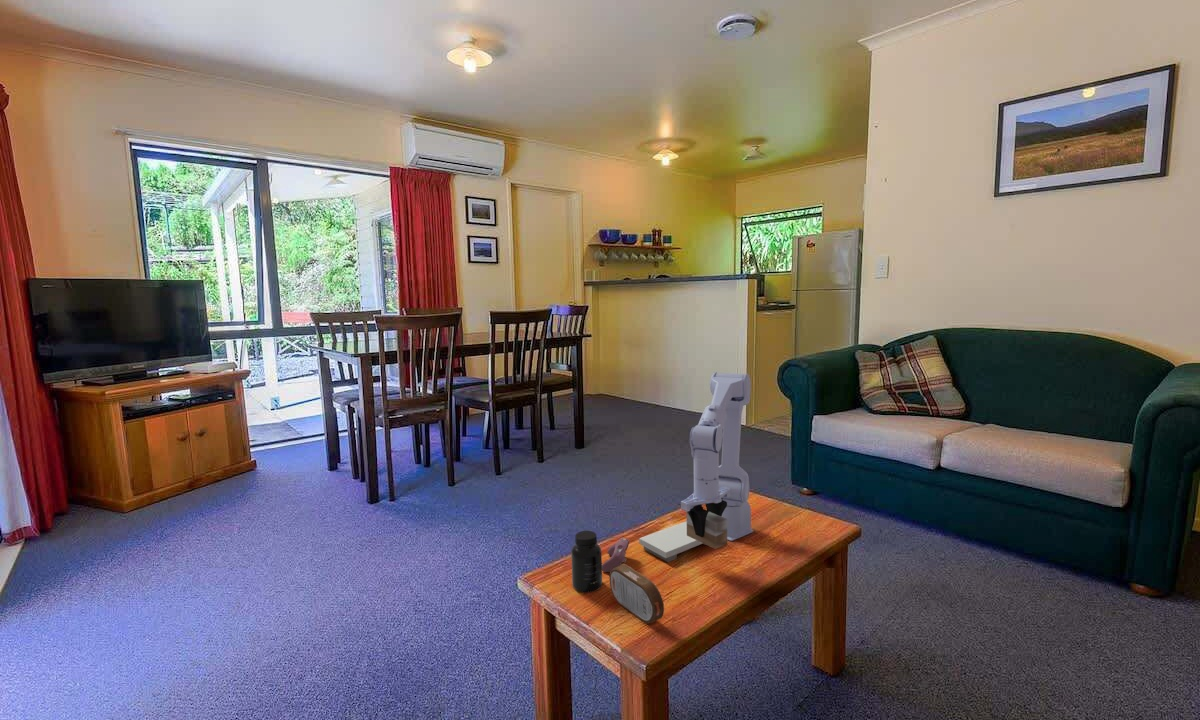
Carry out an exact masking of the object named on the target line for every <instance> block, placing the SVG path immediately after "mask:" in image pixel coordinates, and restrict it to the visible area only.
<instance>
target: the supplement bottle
mask: <svg viewBox="0 0 1200 720" xmlns="http://www.w3.org/2000/svg"><path fill="white" fill-rule="evenodd" d="M574 537H575V538H574V539H575V540H574V545H573V546H572V548H571V549H570V550H571V553H570V554H571V555H570V556H571V557H570V560H571V583H572V587H573V588H574V590H575V591H577V592H579V591H580V592H579V593H584V594H588V592H589V593H593V592H596V591H598V590H599V589H601V587H602V585H603V571H602V564H603V560H602V558H603V557H602V556H603V555H602V547H601V545H599V544H598V539H597V533H596V532H595V531H592V530H580V531H578V532H577V533H576V534H575V535H574Z"/></svg>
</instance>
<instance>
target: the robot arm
mask: <svg viewBox="0 0 1200 720" xmlns="http://www.w3.org/2000/svg"><path fill="white" fill-rule="evenodd" d="M751 382H752V381H751V376H750V375H749V373H730V372H729V373H728V372H727V373H726V372H717V371H716V372H713V373H712V374H711V376H710V381H709V389H710V393H711V395H712V399H711V403H710V404H709V405H707V406H705V408H704V410H703V411H702V414H701V417H700V418H699V422H698V424H696V425H695V426H692V428H691V430H690V432H689V446H690V449H691V451H690V452H691V458H693V492H692V494H690V495H689V496H688V497H687V498H685V499H683V500H681V501H680V509H681V510H682V511H684V512H686V513H687V512H688V514H689V516H690V518H691V520H692V523H693V527H694V530H695V534H696V535H698V536H700V537H704V533H705V522H706V517H707V514H708V512H711V513H714V514H716V515H719V516H721V517H724V518H726V519H727V541H730V542H732V541H735V540H737V539H740V538H742V537H745V536H747V535H750V534H752V533H754V529H752V508H751V505H750V502H749V501H748V500H749V496H750V477H749V474H748V472H746V470H744V469H743V468H742V467H741V466H740V451H741V450H740V447H741V431H742V430H741V429H742V413H743V409H744V406H747V405H749V404H750V401H751V392H752V391H751V388H752V383H751ZM721 448H722V449H721ZM720 451H721V464H719V462H720V461H719V460H720V458H719V457H720V456H719V454H720ZM703 505H705V508H706V509H705V508H704V506H703Z"/></svg>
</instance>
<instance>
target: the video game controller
mask: <svg viewBox="0 0 1200 720" xmlns="http://www.w3.org/2000/svg"><path fill="white" fill-rule="evenodd" d="M630 542H631V541H630V540H629V539H626V538H623V537H621V538H619V539H618V540H617V541H616V542H615V543H613V544H612V545H610V546H609V548H608V549H607V554H608V555H609V556H611V557H610V558H608V559H607V560H606V561H604V562H602V573H610V572H611V570H612V569H614V568H616V567H618V566H619V565H621V564H623V563H626V561H627V558H626V554H627V553H626V551H627V550H628V549H629V544H630Z"/></svg>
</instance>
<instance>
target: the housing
mask: <svg viewBox="0 0 1200 720" xmlns="http://www.w3.org/2000/svg"><path fill="white" fill-rule="evenodd" d="M686 521H687V536H689V537H691V538H693V539H695V540H697V541H699V542H702V543H704V544H706V545H708V547H710V548H712V549H714V550H716V549H718V548H721V547H724V546H726V545H728V540H727V519H726V518H724V517H721V516H719V515H716V514H714V513H711V512H708V514H707V517H706V522H705V533H704V537H700V536H698V535H696V534H695V530H694V527H693V523H692V520H691V518H690V516H689V514H688V512H687V511H686ZM704 544H703V545H704ZM706 545H705V546H706Z"/></svg>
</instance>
